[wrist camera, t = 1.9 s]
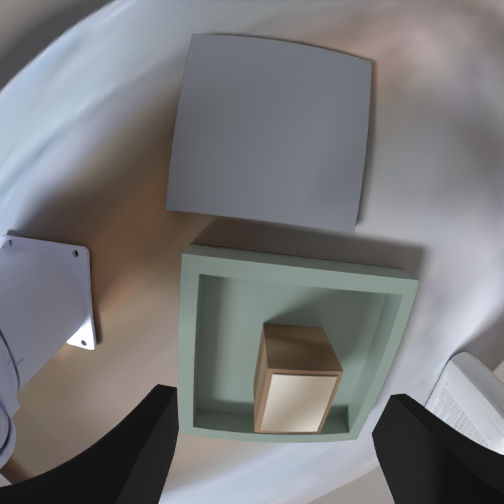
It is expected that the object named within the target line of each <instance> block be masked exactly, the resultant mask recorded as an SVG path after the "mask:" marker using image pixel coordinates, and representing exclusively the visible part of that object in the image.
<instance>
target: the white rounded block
mask: <svg viewBox="0 0 504 504" xmlns="http://www.w3.org/2000/svg"><path fill="white" fill-rule="evenodd" d="M425 408H426V409H428V410H429V411H430V412H432V413H433V414H434V415H436V416H437V417H438V418H440V419H441V420H442V421H444V422H445V423H447V424H448V425H449V426H451V427H452V428H454V429H455V430H457V431H458V432H460V433H461V434H463V435H465V436H466V437H468V438H469V439H471V440H473V441H475V442H476V443H478V444H480V445H482V446H484V447H486V448H488V449H490V450H493V451H495V452H497V453H500V454H503V455H504V383H503V382H502V381H501V380H499V379H498V377H496V375H495V374H493V373H492V372H491V371H490V370H489V369H488V368H487V367H486V366H485V365H484V364H483V363H482V362H481V361H480V360H479V359H478V358H476V357H475V356H472V355H471V354H470V353H468V352H461V353H458V354H456V355H455V356H453V357H452V358H451V360H449V362H448V363H447V365H446V367H445V369H444V370H443V372H442V374H441V377H440V379H439V381H438V383H437V385H436V387H435V389H434V391H433V393H432V395H431V396H430V398H429V400H428V402H427V404H426V406H425Z"/></svg>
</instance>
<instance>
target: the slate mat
mask: <svg viewBox="0 0 504 504" xmlns="http://www.w3.org/2000/svg"><path fill="white" fill-rule="evenodd" d="M371 70H372V62H370V61H367V60H364V59H361V58H357V57H354V56H350V55H346V54H342V53H339V52H335V51H330V50H326V49H322V48H317V47H312V46H307V45H302V44H297V43H291V42H285V41H278V40H271V39H263V38H254V37H244V36H230V35H208V34H193V35H192V39H191V43H190V48H189V52H188V57H187V61H186V66H185V71H184V76H183V81H182V87H181V92H180V98H179V104H178V109H177V116H176V122H175V129H174V136H173V143H172V150H171V158H170V166H169V175H168V185H167V195H166V206H165V210H172V211H182V212H191V213H201V214H210V215H219V216H228V217H236V218H244V219H253V220H261V221H269V222H276V223H284V224H291V225H299V226H306V227H313V228H320V229H327V230H334V231H341V232H348V233H354V231H355V226H356V220H357V214H358V208H359V201H360V194H361V187H362V180H363V172H364V164H365V155H366V146H367V136H368V124H369V111H370V95H371Z"/></svg>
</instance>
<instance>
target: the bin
mask: <svg viewBox="0 0 504 504" xmlns="http://www.w3.org/2000/svg"><path fill="white" fill-rule="evenodd" d="M418 284H419V280H418V279H417V278H415V277H414V276H412V275H411V274H409V273H407V272H406V271H404V270H403V269H400V268H391V267H383V266H375V265H367V264H358V263H350V262H342V261H333V260H325V259H317V258H308V257H300V256H292V255H284V254H275V253H267V252H258V251H250V250H242V249H233V248H225V247H217V246H208V245H200V244H190V245H189V246H188V247H187V248H186V249H185V251H184V252H183V253H182V261H181V278H180V300H179V334H178V391H179V424H180V433H183V434H189V435H196V436H203V437H210V438H219V439H228V440H239V441H253V442H277V443H309V442H332V441H346V440H356V439H357V437H358V436H359V434H360V432H361V430H362V428H363V426H364V424H365V422H366V420H367V418H368V416H369V414H370V412H371V410H372V408H373V406H374V404H375V402H376V400H377V398H378V395H379V393H380V391H381V389H382V387H383V384H384V382H385V380H386V377H387V375H388V372H389V370H390V368H391V365H392V363H393V360H394V357H395V355H396V352H397V350H398V347H399V344H400V341H401V339H402V336H403V333H404V330H405V327H406V324H407V321H408V318H409V315H410V312H411V308H412V305H413V302H414V298H415V295H416V291H417V288H418ZM263 323H271V324H282V325H294V326H308V327H323V329H324V331H325V333H326V335H327V337H328V339H329V341H330V343H331V345H332V347H333V350H334V352H335V354H336V356H337V358H338V360H339V362H340V364H341V366H342V369H343V371H344V372H343V375H342V378H341V381H340V383H339V386H338V389H337V392H336V394H335V397H334V400H333V402H332V405H331V407H330V410H329V412H328V415H327V417H326V420H325V422H324V425H323V427H322V429H321V432H320V433H306V434H289V433H259V432H254V394H253V381H254V375H255V369H256V363H257V357H258V351H259V345H260V339H261V333H262V327H263Z"/></svg>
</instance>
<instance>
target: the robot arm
mask: <svg viewBox="0 0 504 504" xmlns="http://www.w3.org/2000/svg"><path fill="white" fill-rule="evenodd" d="M11 241H12V242H11ZM0 246H1V248H0V468H1V467H3V465H4V464H5V463H6V462H7V461H8V459H9V458H10V456H11V454H12V452H13V450H14V447H15V443H16V429H15V425H14V422H13V420H12V418H11V417H12V416H13V415H14V414H15V413H16V411H17V410H18V409H19V408H20V405H19V403H18V400H17V394H18V393H19V392H20V391H21V389H22V388H23V387H24V386H25V385H26V384H27V383H28V382H29V381H30V380H31V378H32V377H33V376H34V375H35V374H36V373H37V372H38V371H39V370H40V369H41V368H42V367H43V366H44V365H45V364H46V363H47V361H48V360H49V359H50V358H51V357H52V356H53V355H54V354H55V353H56V352H57V351H58V350H59V349H60V348H61V347H62V346H63V345H64V344H65V343H69V344H72V345H76V346H79V347H83V348H86V349H90V350H93V349H95V347H96V346H97V343H96V335H95V327H94V318H93V308H92V295H91V280H90V254H89V250H88V249H87V248H86V247H84V246H78V245H71V244H64V243H57V242H51V241H44V240H37V239H31V238H24V237H18V236H11V235H2V236H1V238H0ZM75 251H77V252H78V256H77V255H76V253H75ZM84 341H85V342H86V343H87V344H86V343H85V342H84ZM178 431H179V422H178V404H177V387H171V386H165V385H160V384H158V385H156V386H155V387H154V388H153V389H152V390H151V391H150V392H149V394H148V395H147V396H146V397H145V398H144V399H143V400H142V401H141V402H140V403H139V404H138V405H137V406H136V407H135V408H134V410H133V411H131V412H130V413H129V414H128V415H127V416H126V417H125V418H124V419H123V420H122V421H121V422H120V423H119V424H118V425H117V426H116V427H114V428H113V429H112V430H111V431H110V432H108V433H107V434H106V435H105V436H103V437H102V438H101V439H100V440H99V441H97V442H96V443H95V444H93V445H92V446H90V447H89V448H88V449H86V450H85V451H83V452H82V453H80V454H79V455H77V456H75V457H74V458H72V459H71V460H69V461H67V462H65V463H63V464H61V465H60V466H58V467H56V468H54V469H52V470H50V471H48V472H45V473H43V474H41V475H38V476H35V477H33V478H30V479H27V480H25V481H22V482H19V483H16V484H12V485H8V486H4V487H0V504H158V503H159V500H160V497H161V493H162V490H163V487H164V484H165V481H166V478H167V475H168V472H169V468H170V465H171V462H172V459H173V456H174V452H175V447H176V442H177V436H178ZM372 437H373V442H374V446H375V450H376V454H377V458H378V460H379V463H380V466H381V468H382V471H383V473H384V475H385V478H386V481H387V484H388V486H389V489H390V491H391V494H392V496H393V499H394V502H395V504H504V455H503V454H500V453H497V452H495V451H493V450H490V449H488V448H486V447H484V446H482V445H480V444H478V443H476V442H475V441H473V440H471V439H469V438H468V437H466V436H465V435H463V434H461V433H460V432H458V431H457V430H455V429H454V428H452V427H451V426H449V425H448V424H447V423H445V422H444V421H442V420H441V419H440V418H438V417H437V416H436V415H434V414H433V413H432V412H430V411H429V410H428V409H426V408H425V407H424V406H422V405H421V404H419V403H418V402H417V401H415V400H414V399H412V398H411V397H410V396H408V395H406V394H396V395H391V396H390V398H389V400H388V403H387V405H386V407H385V409H384V411H383V413H382V415H381V417H380V419H379V421H378V422H377V424H376V426H375V428H374V430H373V432H372Z"/></svg>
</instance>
